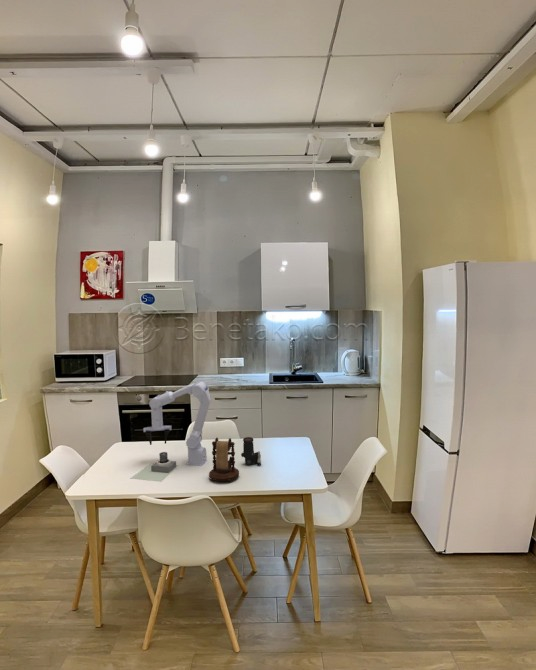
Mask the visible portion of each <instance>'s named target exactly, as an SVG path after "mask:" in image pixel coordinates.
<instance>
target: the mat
mask: <svg viewBox="0 0 536 670" xmlns="http://www.w3.org/2000/svg"><path fill="white" fill-rule="evenodd" d="M154 463H155V462H153V463H152V462H150V463H149V464H147V466H145V467H143V469H141V470H140V471H138V472H137V473H135V474H134V475H132V476H131V477H130V478H129V479H131V480H132V479H133V480H139V481H151V482H159V483H161V482H163V481H164V480H165V479H166V478H167V477H169V475H171V474H172V473H173V472H174V471H175V470H177V469H178V468H179V467H180V465H177V464H176V468H175V469H173V470H172V471H171V472H170V473H163V472H152V471H151V466H152V465H153V464H154Z"/></svg>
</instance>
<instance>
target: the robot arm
mask: <svg viewBox="0 0 536 670" xmlns="http://www.w3.org/2000/svg"><path fill="white" fill-rule="evenodd" d="M186 394H188V395H193V396H194V397H195V398H196V399H197V400H198V401H199V402H200V404H199V407H198V411H197V414H196V418H195V421H194V424H193V428H192V430H191V433H190V435H189V437H188V438H187V439H186V442H185V443H186V444H185V445H186V446H187V462H186V463H185V465H186V466H187V465H188V466H200V467H202V466H203V465H204V464H206V462H208V460H207V459H208V458H207V447H203V446H202V444H201V442H202V440H203V436H202V435H203V428H204V425H205V422H206V419H207V414H208V411H209V408H210V405H211V401H212V399H211V395H210V388H209V385H207V383H206V382H205V381H201V380H200V381H198V382H194V383H191V384H188V385H186V386H184V387H182V388H180V389H177V390H176V391H174V392H173V391H168V390H166V391H165V392H164V393H163V394H158V395H156V396H155V397H153V398H152V399H150V400H149V403H148V404H149V408H150V410H151V426H147V427H143V433H145V436H146V437H147V440H148V441H149V445H150V446H151V445H152V444H153V443H152V432H160V431H161V432H162V431H164V444H167V438H168V435H169V433H170V431H172V425H164V421H163V419H164V417H163V406H165V405H167V404H171V403H173V402H175V399H176V398H178V397H181V396H185V395H186Z"/></svg>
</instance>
